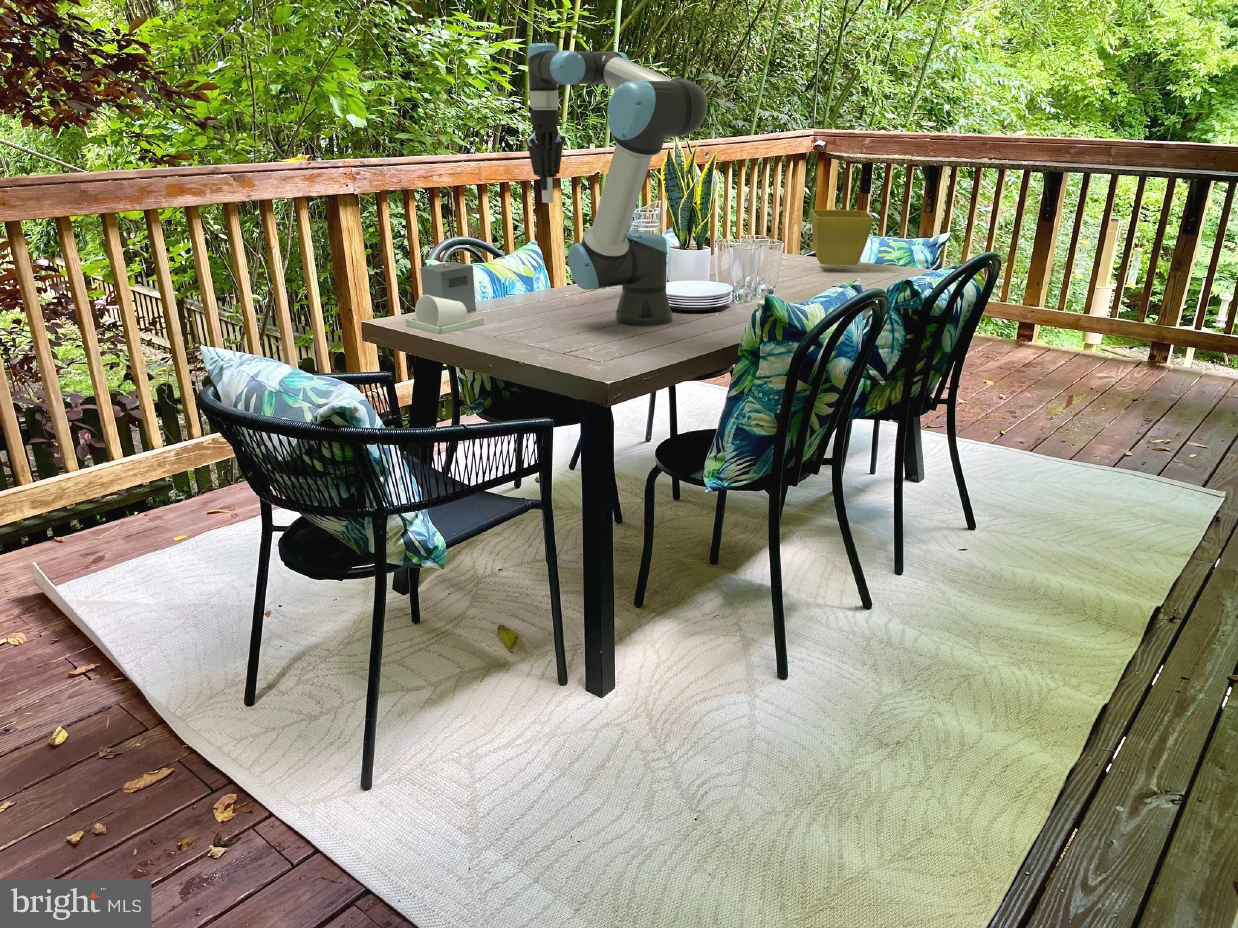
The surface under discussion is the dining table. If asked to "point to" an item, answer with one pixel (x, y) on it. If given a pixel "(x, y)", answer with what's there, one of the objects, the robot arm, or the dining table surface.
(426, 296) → the cup
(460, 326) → the corral
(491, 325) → the dining table surface
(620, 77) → the robot arm
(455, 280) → the box
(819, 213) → the flower pot
